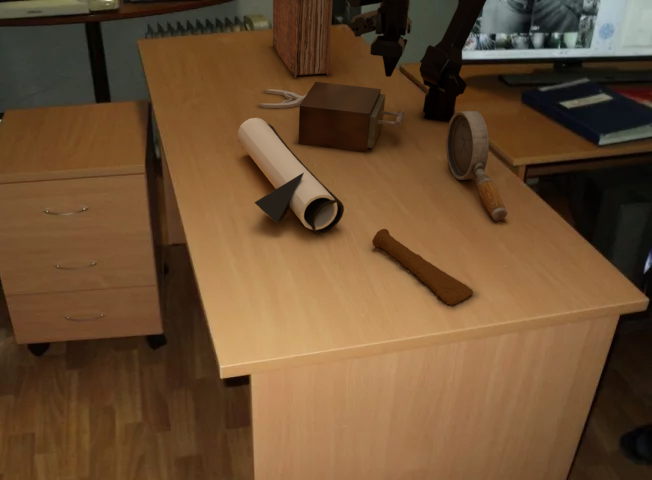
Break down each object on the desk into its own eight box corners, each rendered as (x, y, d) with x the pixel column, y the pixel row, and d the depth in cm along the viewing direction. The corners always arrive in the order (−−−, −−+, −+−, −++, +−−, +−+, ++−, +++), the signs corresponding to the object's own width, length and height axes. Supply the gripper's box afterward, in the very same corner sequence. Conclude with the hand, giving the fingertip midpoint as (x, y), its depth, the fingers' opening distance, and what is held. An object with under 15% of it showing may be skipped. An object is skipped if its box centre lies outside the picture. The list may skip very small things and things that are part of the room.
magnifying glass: (520, 189, 124) (472, 96, 139) (503, 190, 124) (456, 97, 139) (497, 239, 134) (455, 148, 150) (482, 240, 134) (440, 149, 149)
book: (328, 76, 188) (335, -50, 171) (294, 78, 186) (297, -48, 169) (304, 44, 208) (307, -70, 191) (272, 47, 206) (273, -69, 189)
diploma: (255, 166, 154) (204, 137, 146) (281, 130, 151) (231, 98, 143) (322, 253, 127) (265, 223, 119) (355, 210, 124) (299, 177, 116)
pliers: (266, 85, 178) (328, 89, 176) (266, 91, 179) (327, 95, 177) (260, 100, 170) (324, 105, 168) (260, 107, 171) (323, 111, 169)
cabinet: (377, 126, 163) (380, 88, 158) (366, 152, 152) (369, 113, 147) (313, 118, 166) (315, 81, 161) (298, 143, 155) (299, 105, 150)
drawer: (404, 126, 161) (408, 97, 157) (396, 151, 151) (399, 120, 147) (323, 116, 165) (324, 87, 161) (309, 139, 155) (310, 109, 151)
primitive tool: (474, 294, 112) (478, 275, 110) (451, 308, 109) (454, 289, 107) (384, 241, 124) (386, 223, 122) (361, 252, 121) (362, 234, 119)
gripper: (363, -15, 155) (358, 58, 164) (347, 10, 140) (343, 88, 150) (415, -11, 153) (407, 62, 162) (405, 14, 138) (397, 93, 147)
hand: (388, 76), depth 155 cm, fingers closed
